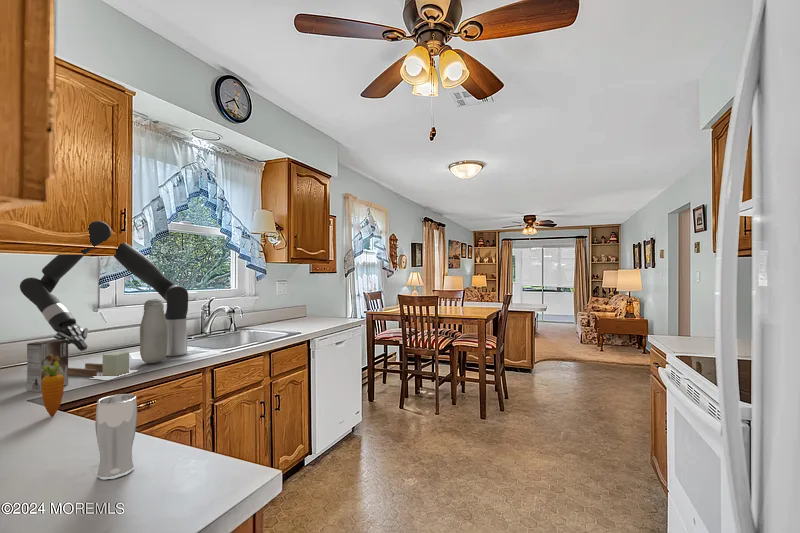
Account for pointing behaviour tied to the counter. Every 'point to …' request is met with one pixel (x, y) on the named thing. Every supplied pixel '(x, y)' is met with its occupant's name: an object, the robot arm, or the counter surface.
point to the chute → (86, 370)
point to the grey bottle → (153, 332)
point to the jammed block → (115, 364)
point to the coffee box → (45, 361)
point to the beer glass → (116, 433)
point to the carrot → (52, 389)
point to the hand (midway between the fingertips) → (84, 349)
